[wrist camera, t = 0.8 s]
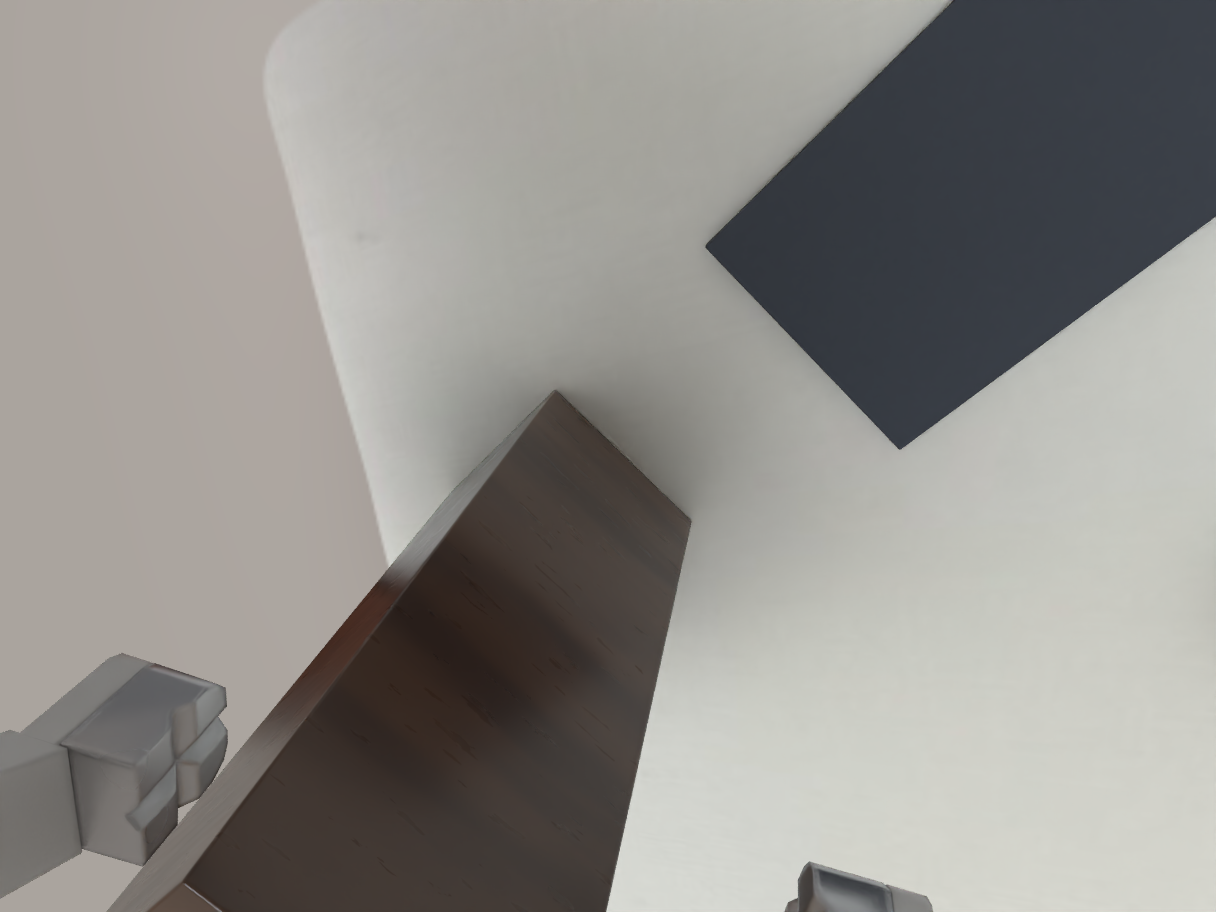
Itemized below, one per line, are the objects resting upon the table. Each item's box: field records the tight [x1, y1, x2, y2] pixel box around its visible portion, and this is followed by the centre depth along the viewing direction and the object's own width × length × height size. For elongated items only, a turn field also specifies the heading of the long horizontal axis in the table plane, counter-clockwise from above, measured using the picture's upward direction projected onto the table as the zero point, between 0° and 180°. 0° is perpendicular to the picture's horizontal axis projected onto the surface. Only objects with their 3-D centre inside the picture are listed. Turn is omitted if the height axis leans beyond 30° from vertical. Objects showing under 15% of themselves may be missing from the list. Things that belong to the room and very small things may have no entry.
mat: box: [706, 0, 1216, 449], centre depth 31 cm, size 18×12×1 cm, turn 137°
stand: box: [107, 390, 691, 912], centre depth 28 cm, size 8×9×26 cm
